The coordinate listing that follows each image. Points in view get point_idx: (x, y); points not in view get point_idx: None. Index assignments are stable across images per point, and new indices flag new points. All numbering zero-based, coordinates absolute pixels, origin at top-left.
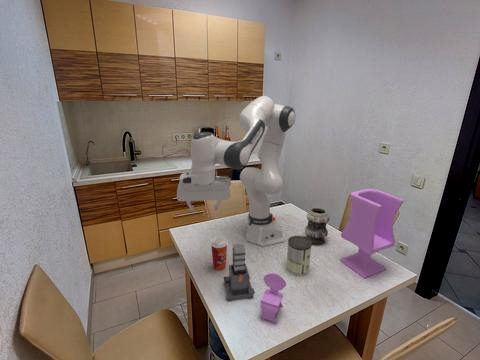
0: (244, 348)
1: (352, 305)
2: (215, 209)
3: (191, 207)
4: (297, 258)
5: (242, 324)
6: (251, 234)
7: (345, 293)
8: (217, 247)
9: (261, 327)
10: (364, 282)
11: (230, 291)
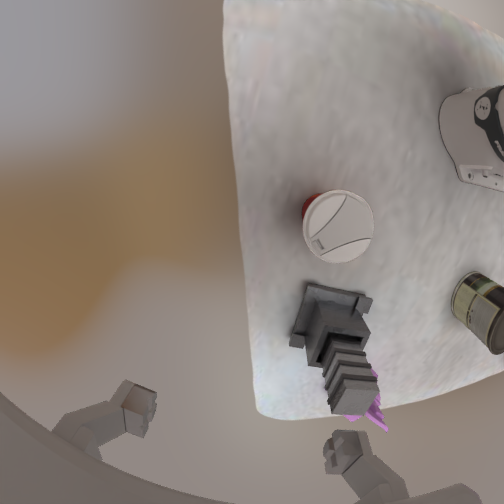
0: (275, 411)
1: (452, 389)
2: (330, 453)
3: (125, 430)
4: (476, 335)
5: (292, 385)
6: (460, 137)
7: (467, 370)
8: (320, 258)
9: (318, 396)
10: (498, 356)
11: (302, 337)
